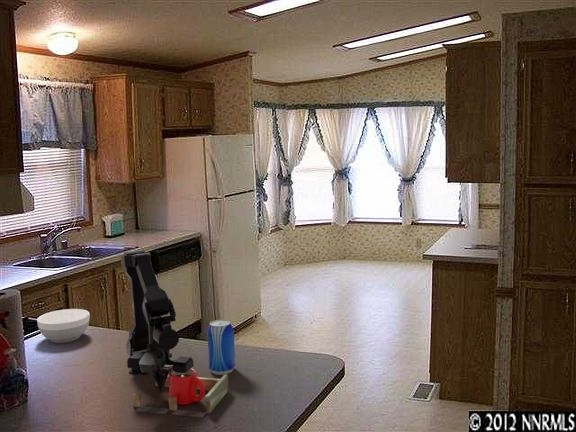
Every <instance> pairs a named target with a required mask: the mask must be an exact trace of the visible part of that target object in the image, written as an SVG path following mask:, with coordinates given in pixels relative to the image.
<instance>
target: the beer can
mask: <svg viewBox="0 0 576 432" xmlns="http://www.w3.org/2000/svg"><path fill="white" fill-rule="evenodd" d="M206 331H207V332H206V334H207V351H208V353H207V355H208V365H209V366H208V368H209V370H210V372H211V373H212V374H214V375H219V376H223V375H229V374H230V373H232V372H233V371H234V370H235V368H236V351H235V331H234V327H233V325H232V324H231V321H230V320H228V319H216V320H213V321H210V322H209V326H208V328H207V329H206Z"/></svg>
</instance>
